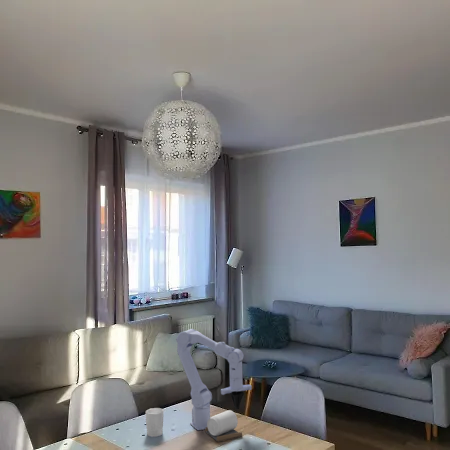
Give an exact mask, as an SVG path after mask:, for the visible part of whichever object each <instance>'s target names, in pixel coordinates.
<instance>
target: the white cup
mask: <svg viewBox="0 0 450 450" xmlns="http://www.w3.org/2000/svg"><path fill="white" fill-rule="evenodd" d="M164 411H165V410H164V409H163V408H160V407H154V408H149V409H147V410H145V422H146V423H145V424H146V435H147V436H148V437H150V436H151V437H150V438H157V437H160V436H162V434H163V432H164V431H163V430H164V429H163V428H164Z"/></svg>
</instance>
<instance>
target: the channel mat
mask: <svg viewBox="0 0 450 450" xmlns="http://www.w3.org/2000/svg"><path fill="white" fill-rule="evenodd" d="M204 430H205V433H207V434H208V435H209V436H210V437H211V438H213V440H215V441H216V442H217V443H220V442H224V441H230V440H233V439H239V438H242V437H243V432H242V431H237V430H236V429H233V430H230V431H228V432H226V433H223V434H221V435H219V436H214V435H212V434H210V432H209V430H208V427H206V428H205V429H204Z"/></svg>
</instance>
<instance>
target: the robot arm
mask: <svg viewBox="0 0 450 450" xmlns="http://www.w3.org/2000/svg"><path fill="white" fill-rule="evenodd" d="M175 340H176V343H177V344H176V345H177V347H176V348H177V350H176V351H177V355H178V358H179V360H180V363H181V365H182V367H183V370H184V372H185V374H186V377H187V380H188V382H189V385H190V388H191V389H190V397H191V403H192V408H191V422H190V425H191V426H192V427H193V428H194V429H196V430H197V431H202V430H205V428H206V427H207V422H208V420H209V419H210V418H211V401H212V399H213V395H212V392H211V390H209V389H208V387H207V384H205V383H203V381H202V378H201V376H200V374H199V371H198V369H197V366H196V363H195V361H194V358H193V356H192V354H191V350H192V347H193V345H194V344H197V343H199V344H200V345H203V346H205V347H208V348H209V349H212V350H213V352H214V353H215V354H216V355H217V356H220V357H221V358H223V359H225V360H226V361H227V362H228V364H229V386H228V387H225V388H221V389H220V394H221V395H223V396H224V395H226V394H229V396H230V398H231V401H232V403H233V408H234V409H235V410H240V405H241V402H242V399H243V397H244V394H245V392H244V391H251V390H252V387H253V386H252V385H251V384H243V382H244V381H243V359H244V357H245V355H244V352H243V350H242V349H240V348H235V347H233V346H230V345H228V344H226V342H225V341H219V342H217V341H215V340H213V339H212V338H210V337H207V336H206V335H205V334H203V333H201V332H200V331H198V330H196V329H194V328H190V329H188V330H184V331H181V332H179V333H178V335H177V337H176V339H175Z"/></svg>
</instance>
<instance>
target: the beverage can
mask: <svg viewBox="0 0 450 450" xmlns="http://www.w3.org/2000/svg"><path fill="white" fill-rule="evenodd" d="M207 427H208V430H209V432H210V434H212V435H214V436H219V435H221V434H223V433H226V432H228V431H230V430H233V429H234V430H236V428H237V427H238V417H237V415H236V413H235V412H234V411H233V410H231V409H229V410H225V411H222V412H220V413H218V414H215V415H213V416H210V419H209V420H208V422H207Z"/></svg>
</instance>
